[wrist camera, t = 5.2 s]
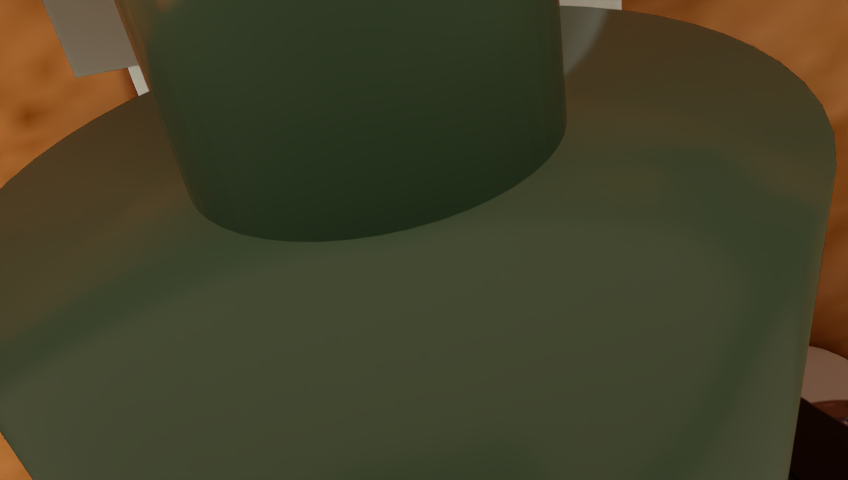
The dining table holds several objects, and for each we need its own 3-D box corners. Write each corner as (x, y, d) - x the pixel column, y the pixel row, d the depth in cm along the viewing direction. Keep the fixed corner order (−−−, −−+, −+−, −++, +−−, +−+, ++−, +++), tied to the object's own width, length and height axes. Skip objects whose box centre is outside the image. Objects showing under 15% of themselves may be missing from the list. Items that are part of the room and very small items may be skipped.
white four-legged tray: (20, -243, 14) (-82, -248, 10) (600, -357, 14) (685, -399, 10) (261, 381, 22) (247, 487, 19) (619, 312, 22) (669, 407, 19)
